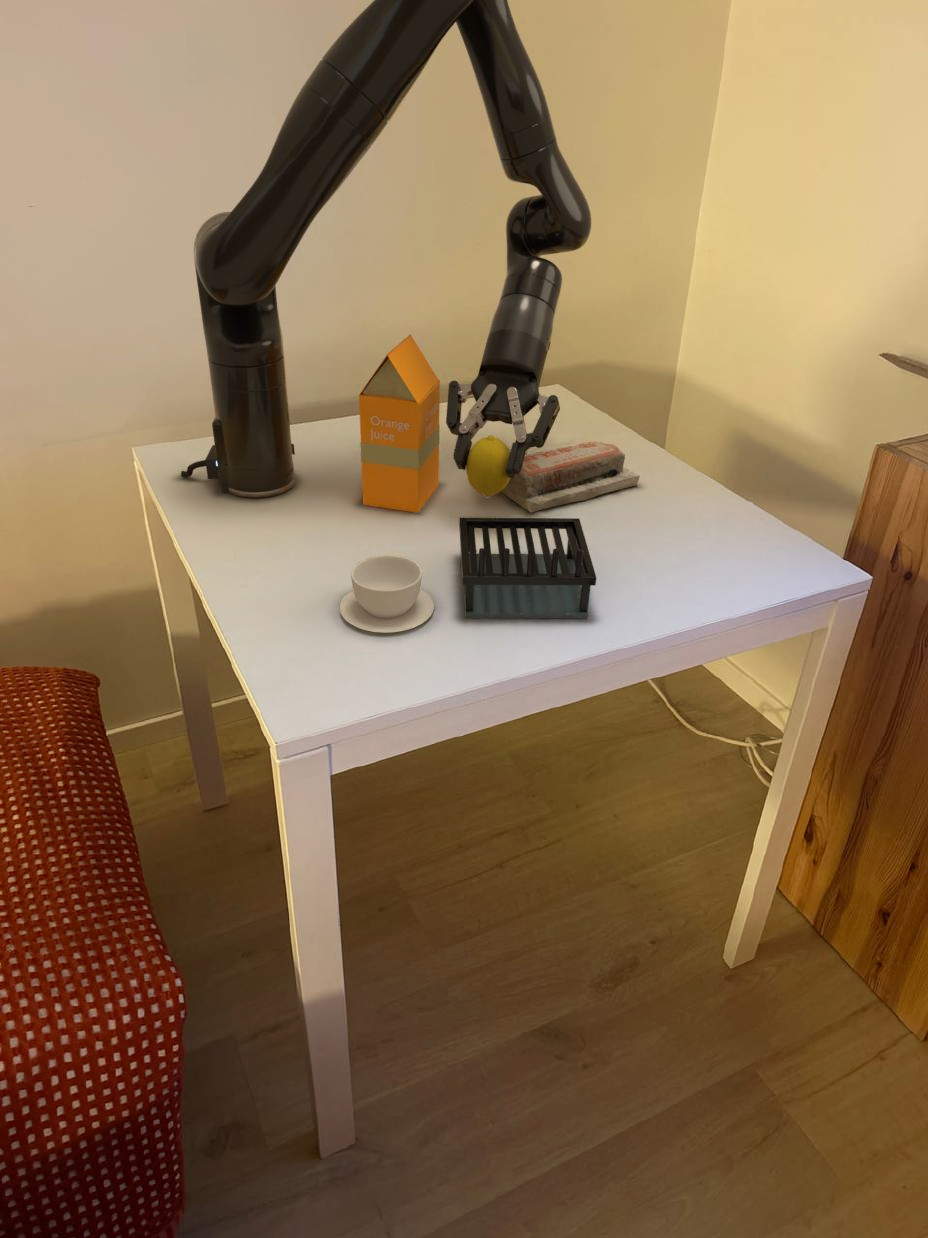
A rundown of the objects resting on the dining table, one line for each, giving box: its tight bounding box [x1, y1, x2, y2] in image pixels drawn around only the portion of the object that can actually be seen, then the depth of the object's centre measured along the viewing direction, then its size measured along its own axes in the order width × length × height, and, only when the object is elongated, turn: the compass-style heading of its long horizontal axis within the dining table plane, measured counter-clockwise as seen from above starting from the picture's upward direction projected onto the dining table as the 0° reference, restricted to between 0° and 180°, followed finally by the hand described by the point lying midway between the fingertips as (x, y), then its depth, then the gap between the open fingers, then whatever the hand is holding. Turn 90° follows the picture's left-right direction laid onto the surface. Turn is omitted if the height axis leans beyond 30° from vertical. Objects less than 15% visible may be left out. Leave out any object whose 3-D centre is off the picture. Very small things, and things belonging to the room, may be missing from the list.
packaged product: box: [500, 441, 641, 513], centre depth 124 cm, size 18×5×10 cm
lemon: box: [465, 434, 511, 498], centre depth 112 cm, size 6×6×8 cm
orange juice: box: [358, 333, 441, 514], centre depth 117 cm, size 8×9×20 cm
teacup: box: [339, 554, 435, 633], centre depth 98 cm, size 10×10×5 cm
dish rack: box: [458, 517, 597, 619], centre depth 101 cm, size 14×13×8 cm
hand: (485, 470), depth 110 cm, fingers closed on lemon, 5 cm apart
